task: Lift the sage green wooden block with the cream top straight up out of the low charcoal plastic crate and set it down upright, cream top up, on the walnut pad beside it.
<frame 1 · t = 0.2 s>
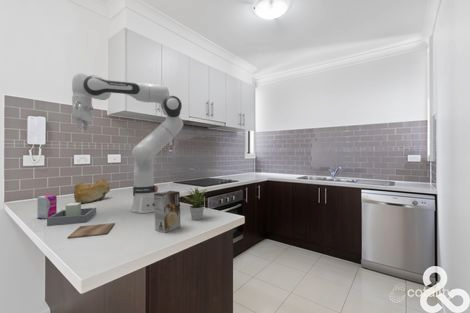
hand: (82, 129, 122), 47 cm above the worktop, tool pointing down, fingers open, 8 cm apart
house plant: (198, 218, 114), on the worktop
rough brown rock: (90, 200, 161), on the worktop
crate: (73, 219, 114), on the worktop
supplement box: (47, 217, 118), on the worktop
sage block: (73, 211, 114), in the crate
walnut pad: (93, 230, 97), on the worktop
coffee box: (167, 229, 98), on the worktop
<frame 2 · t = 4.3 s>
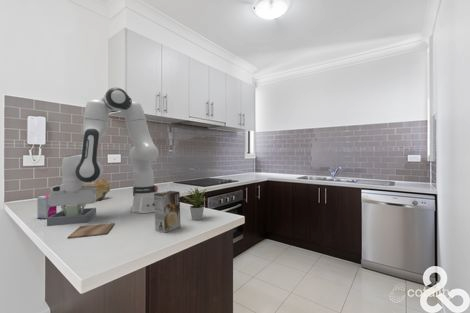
hand: (73, 213, 114), 3 cm above the worktop, tool pointing down, fingers closed on sage block, 5 cm apart
sage block: (73, 211, 114), in the crate, touching gripper
everything else where it was.
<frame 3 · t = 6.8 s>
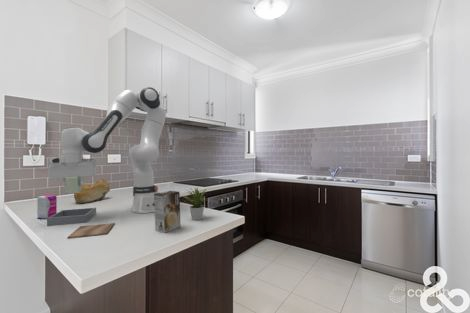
hand: (73, 186, 114), 17 cm above the worktop, tool pointing down, fingers closed on sage block, 5 cm apart
sage block: (73, 184, 114), point 18 cm above the worktop, touching gripper
everything else where it was.
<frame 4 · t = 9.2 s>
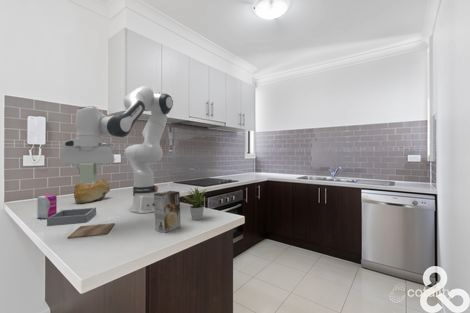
hand: (88, 174, 99), 24 cm above the worktop, tool pointing down, fingers closed on sage block, 5 cm apart
sage block: (88, 172, 98), point 25 cm above the worktop, touching gripper
everything else where it was.
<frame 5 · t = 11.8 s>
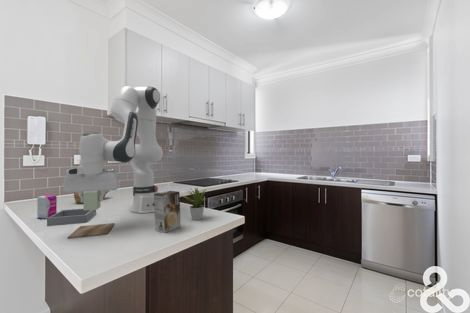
hand: (92, 201, 96), 13 cm above the worktop, tool pointing down, fingers closed on sage block, 5 cm apart
sage block: (92, 199, 96), point 14 cm above the worktop, touching gripper
everything else where it was.
when the fingers open (5 cm above the worktop, at t = 14.1 s): sage block drops 1 cm, resting on walnut pad.
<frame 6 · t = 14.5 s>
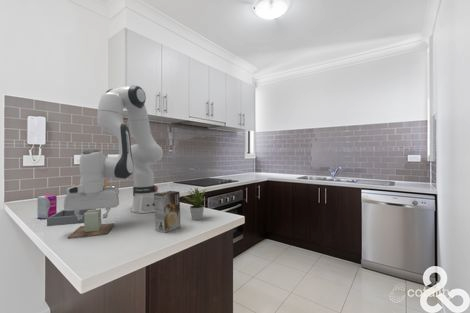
hand: (93, 219, 97), 5 cm above the worktop, tool pointing down, fingers open, 8 cm apart
sage block: (93, 220, 97), on the walnut pad, point 5 cm above the worktop
everything else where it was.
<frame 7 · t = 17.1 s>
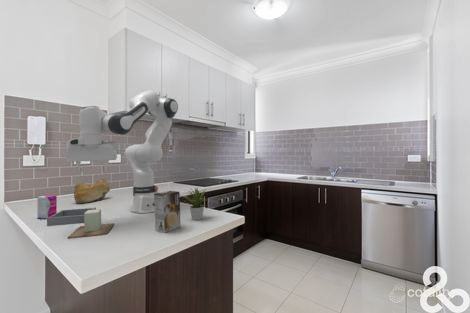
hand: (93, 170, 104), 26 cm above the worktop, tool pointing down, fingers open, 8 cm apart
nothing on the worktop moved.
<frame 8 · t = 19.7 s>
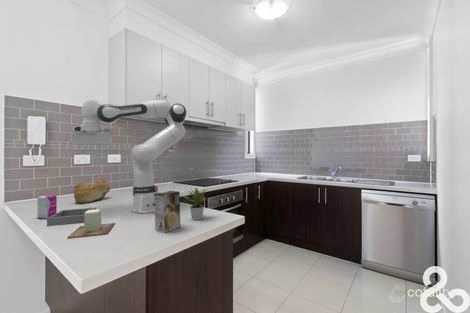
hand: (92, 152, 129), 34 cm above the worktop, tool pointing down, fingers open, 8 cm apart
nothing on the worktop moved.
at the end: sage block inside the target area on the walnut pad (0.0 cm from its centre), point 4.6 cm above the walnut pad's base; sage block tilted 0°; the gripper is holding nothing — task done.
